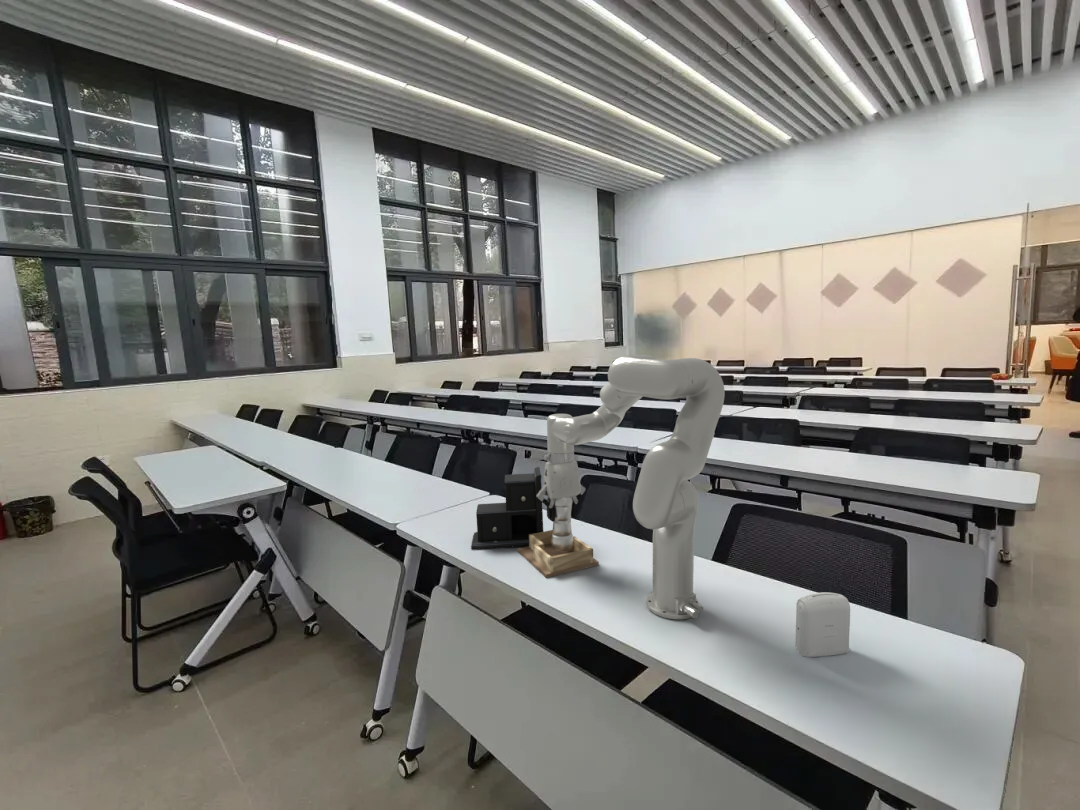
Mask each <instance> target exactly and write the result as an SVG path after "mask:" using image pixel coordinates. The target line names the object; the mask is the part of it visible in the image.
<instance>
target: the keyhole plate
mask: <svg viewBox="0 0 1080 810" xmlns="http://www.w3.org/2000/svg"><path fill="white" fill-rule="evenodd" d="M552 533H553V529H550V530H545V531H543V532H540V533H535V534H530V535H529V546H526V547H518V548H517V553H519V555H521V556H522V557H523V558H524V559H525V560H526V561H527V562H528V563H529V564H530V565H532V567H534V568H535V569H536V570H537V571H538V572H539V573H540V574H541V575H542V576H543V577H545V578H546V579H548V578H551V577H552V578H553V577H555V576H560V575H563V574H567V573H573V572H575V571H576V572H577V571H579V570H585V569H588V568H591V567H596V566H599V564H600V562H599V561H598V560H597V559H595V557H594V548H593V547H591V546H590V545H588V544H586V543H585V542H584V541H582V540H581V539H579V537H577V536H574V535H573V546H572V547H571V549H569V550H566V551H558V550H555V549H554V548H553V546H552V542H551V539H552ZM584 568H585V569H584Z"/></svg>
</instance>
